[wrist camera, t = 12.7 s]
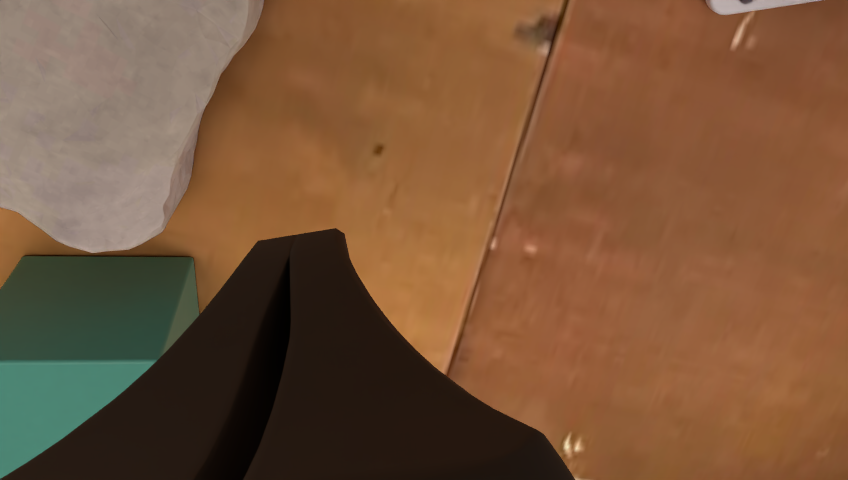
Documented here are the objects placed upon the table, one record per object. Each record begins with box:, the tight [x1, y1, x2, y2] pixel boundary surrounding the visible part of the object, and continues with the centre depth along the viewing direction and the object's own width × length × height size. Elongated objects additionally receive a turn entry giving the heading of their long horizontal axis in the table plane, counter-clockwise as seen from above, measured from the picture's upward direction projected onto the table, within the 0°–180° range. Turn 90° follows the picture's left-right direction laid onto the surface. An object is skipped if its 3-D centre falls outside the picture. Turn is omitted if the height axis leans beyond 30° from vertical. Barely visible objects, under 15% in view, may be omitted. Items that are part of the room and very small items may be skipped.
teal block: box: [0, 256, 199, 479], centre depth 22 cm, size 5×5×5 cm
